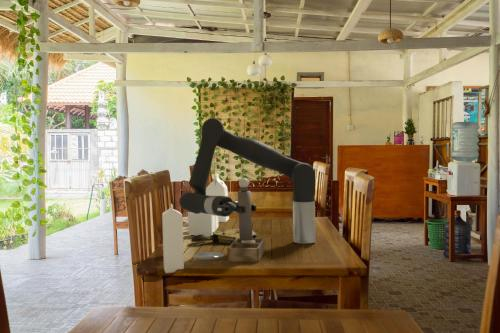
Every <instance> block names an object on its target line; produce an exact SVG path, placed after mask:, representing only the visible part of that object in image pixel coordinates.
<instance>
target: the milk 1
mask: <svg viewBox="0 0 500 333" xmlns="http://www.w3.org/2000/svg"><path fill="white" fill-rule="evenodd" d="M161 216H162V218H161V220H162V250H163V251H162V252H163V270H164V272H165V274H171V273H172V274H173V273H175V272H176V271H178V270H183V269H185V266H184V264H185V261H184V259H185V258H184V257H185V256H184V226H183V225H184V224H183V222H184V221H183V220H184V219H183V214H182V213H181V212H180V211H179V210H176V209H174V204H173V203H170V207H169V208H168V209H167V210H164V212H162V214H161Z"/></svg>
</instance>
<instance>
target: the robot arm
mask: <svg viewBox="0 0 500 333" xmlns="http://www.w3.org/2000/svg"><path fill="white" fill-rule="evenodd" d="M200 131H201V138H200V139H201V140H200V143H199V145H200V146H199V149H198V152H197V155H196V156H197V157H196V159H195V161H194V165H193V167H192V172H191V173H190V174H191V175H190V177H189V182H188V185H189V186H188V187H190V188H191V189H192V190H193V191H194V192H190V191H189V192H185V193H183V194H182V195H181V196H180V197H179V201H178V203H179V207H180V208H181V209H183V210H184V211H187V212H189V213H192V212H193V213H195V214H199V213H205V214H211V215H216V216H224V217H227V216H229V217H230V215H231V214H236V213H238V214H239V213H245V212H246V208H245V206H238V200H233V199H232V197H231V196H229V195H228V196H216V195H215V196H208V195H206V188H207V186H208V185H207V184H208V181H209V176H210V173H211V169H212V165H213V164H212V163H213V158H214V155H215V151H216V147H219V148H221V149H224V150H226V151H229V152H232V153H234V155H237V156H239V157H241V158H242V159H245V160H246V161H248V162H251V163H253V164H255V165H257V166H259V167H262V168H265V169H268V170H272V171H275V172H278V173H280V174H282V175H284V176H286V177H288V178H289V179H290V180H292V184H293V185H292V186H293V187H292V188H293V189H292V191H293V192H292V222H293V223H292V229H293V230H292V231H293V232H292V233H293V237H292V238H293V243H296V244H300V245H301V244H304V245H305V244H316V205H315V202H316V199H315V198H316V171H315V169H314V167H313V166H312V165H311V164H309V163H306V162H301V161H298V160H296V159H292V158H290V157H287V156H286V155H284V154H282V153H281V152H279V151H277V150H276V149H275V148H273V147H272V146H269V145H267V144H266V143H264V142H261V141H259V140H256V139H253V138H250V137H249V138H248V137H245V136H239V135H236V134H233V133H232V132H229V131H228V130H226V129H225V127H224V125H223V123H222V121H221V120H220V119H218V118H217V117H211V118H208V119H206V120H205V121H204V122H203V123H202V126H201V130H200ZM251 211H252V212H256V211H257V205H256V204H253V203H252V202H251Z"/></svg>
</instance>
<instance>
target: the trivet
mask: <svg viewBox="0 0 500 333" xmlns="http://www.w3.org/2000/svg"><path fill="white" fill-rule="evenodd" d="M224 256H225V255H224V253H222V252H216V251H215V252H214V251H213V252H211V251H208V252H207V251H206V252H201V253H196V254H194V255H193V258H195V259H199V260H214V259H215V260H217V259H220V258H223V257H224Z"/></svg>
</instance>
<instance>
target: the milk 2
mask: <svg viewBox="0 0 500 333" xmlns="http://www.w3.org/2000/svg"><path fill="white" fill-rule="evenodd" d="M213 176H214V179H213V180H212V181H211V183H209V184H208V185H207V186H206V195H208V196H215V195H216V196H228V197H229V192H228V191H229V190H228V186H227V184H226V183H225V182H224V180H222V179H220V176H219V173H216V174H214V175H213ZM229 219H230V215H229V216H227V217H224V216H218V222H219V223H227V222H228V221H229Z"/></svg>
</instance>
